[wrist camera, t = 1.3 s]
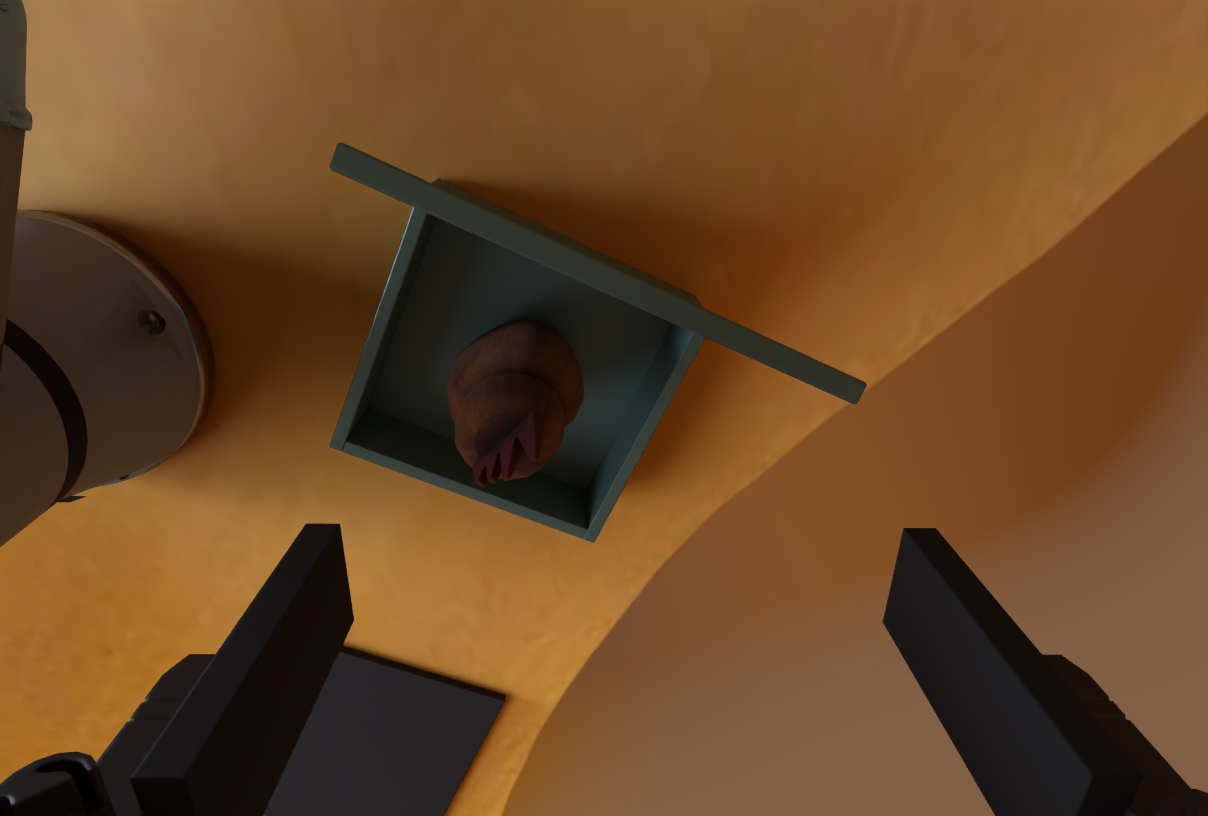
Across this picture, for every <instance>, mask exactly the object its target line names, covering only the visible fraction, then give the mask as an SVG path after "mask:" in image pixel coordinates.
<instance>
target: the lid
mask: <svg viewBox="0 0 1208 816" xmlns="http://www.w3.org/2000/svg"><path fill="white" fill-rule="evenodd" d="M330 169H331V170H332V171H335V172H337V173H339V174H341V175H343V176H346V177H348V178H350V179H352V180H355V181H357V182H359V183H361V184H364V185H366V186H368V187H370V188H372V189H375V190H377V191H379V192H381V193H384V194H386V195H388V196H390V197H393V198H395V199H397V200H399V201H401V202H404V203H406V204H408V205H410V206H413V207H415V208H417V209H419V210H422V211H424V212H426V213H428V214H430V215H433V216H435V217H437V218H439V219H442V220H444V221H446V222H448V223H451V224H453V225H455V226H457V227H459V228H462V229H464V230H466V231H468V232H471V233H473V234H475V235H477V236H480V237H482V238H484V239H486V240H488V241H491V242H493V243H495V244H497V245H500V246H502V247H504V248H506V249H509V250H511V251H513V252H515V253H517V254H520V255H522V256H524V257H526V258H529V259H531V260H533V261H535V262H538V263H540V264H542V265H544V266H546V267H549V268H551V269H553V270H555V271H558V272H560V273H562V274H564V275H567V276H569V277H571V278H573V279H575V280H578V281H580V282H582V283H584V284H587V285H589V286H591V287H593V288H596V289H598V290H600V291H602V292H604V293H607V294H609V295H611V296H613V297H616V298H618V299H620V300H622V301H625V302H627V303H629V304H631V305H633V306H636V307H638V308H640V309H642V310H645V311H647V312H649V313H651V314H654V315H656V316H658V317H660V318H662V319H665V320H667V321H669V322H671V323H674V324H676V325H678V326H680V327H683V328H685V329H687V330H689V331H691V332H694V333H696V334H698V335H700V336H703V337H705V338H707V339H709V340H712V341H714V342H716V343H718V344H720V345H723V346H725V347H727V348H729V349H732V350H734V351H736V352H738V353H741V354H743V355H745V356H747V357H749V358H752V359H754V360H756V361H758V362H761V363H763V364H765V365H767V366H770V367H772V368H774V369H776V370H778V371H781V372H783V373H785V374H787V375H790V376H792V377H794V378H796V379H799V380H801V381H803V382H805V383H807V384H810V385H812V386H814V387H816V388H819V389H821V390H823V391H825V392H828V393H830V394H832V395H834V396H836V397H839V398H841V399H843V400H845V401H848V402H850V403H852V404H857V403H858V401H859V399H860V397H861V395H862V393H863V392H864V390H865V388H866V385H867V384H866V383H865V382H863V381H861V380H859V379H857V378H855V377H852V376H850V375H848V374H846V373H844V372H842V371H839V370H837V369H835V368H833V367H831V366H828V365H826V364H824V363H822V362H820V361H818V360H815V359H813V358H811V357H809V356H807V355H804V354H802V353H800V352H798V351H796V350H794V349H791V348H789V347H787V346H785V345H783V344H780V343H778V342H776V341H774V340H772V339H770V338H767V337H765V336H763V335H761V334H759V333H756V332H754V331H752V330H750V329H748V328H746V327H743V326H741V325H739V324H737V323H735V322H732V321H730V320H728V319H726V318H724V317H722V316H719V315H717V314H715V313H713V312H711V311H708V310H706V309H704V308H702V307H700V306H698V305H695V304H693V303H691V302H689V301H687V300H684V299H682V298H680V297H678V296H676V295H674V294H671V293H669V292H667V291H665V290H663V289H660V288H658V287H656V286H654V285H652V284H650V283H647V282H645V281H643V280H641V279H639V278H636V277H634V276H632V275H630V274H628V273H626V272H623V271H621V270H619V269H617V268H615V267H612V266H610V265H608V264H606V263H604V262H602V261H599V260H597V259H595V258H593V257H591V256H588V255H586V254H584V253H582V252H580V251H578V250H575V249H573V248H571V247H569V246H567V245H564V244H562V243H560V242H558V241H556V240H554V239H551V238H549V237H547V236H545V235H543V234H540V233H538V232H536V231H534V230H532V229H530V228H527V227H525V226H523V225H521V224H519V223H516V222H514V221H512V220H510V219H508V218H506V217H503V216H501V215H499V214H497V213H495V212H492V211H490V210H488V209H486V208H484V207H482V206H479V205H477V204H475V203H473V202H471V201H468V200H466V199H464V198H462V197H460V196H458V195H455V194H453V193H451V192H449V191H447V190H444V189H442V188H440V187H438V186H436V185H434V184H431V183H429V182H427V181H425V180H423V179H420V178H418V177H416V176H414V175H412V174H410V173H407V172H405V171H403V170H401V169H399V168H396V167H394V166H392V165H390V164H388V163H386V162H383V161H381V160H379V159H377V158H375V157H372V156H370V155H368V154H366V153H364V152H362V151H359V150H357V149H355V148H353V147H351V146H348V145H346V144H344V143H340V142H339V143H338V144H337V147H336V149H335V152H334V155H333V158H332V161H331V164H330Z"/></svg>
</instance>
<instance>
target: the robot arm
mask: <svg viewBox="0 0 1208 816" xmlns="http://www.w3.org/2000/svg"><path fill="white" fill-rule="evenodd" d="M26 41H27V22H26V14H25V9H24V6H23V3H22V0H0V547H1V546H2V545H4V544H5V543H6V542H7V541H9V540H10V539H11V538H12V537H14V536H15V535H16V534H17V533H19V532H20V531H21V530H23V529H24V528H25V527H26V526H28V525H29V524H30V523H31V522H33V521H34V520H35V519H36V518H38V517H39V516H40V515H41V514H43V513H44V512H45V511H46V510H48V509H49V508H50V507H52V506H53V505H54V504H55V503H57V502H72V501H75V500H78V499H80V498H83V497H86V496H72V495H75V494H77V493H80V492H83V491H86V490H88V489H91V488H94V487H97V486H104V485H109V484H114V483H117V482H121V481H124V480H127V479H130V478H133V477H135V476H138V475H140V474H143V473H145V472H147V471H149V470H151V469H153V468H155V467H157V466H158V465H160V464H161V463H163V462H164V461H165V460H167V459H168V458H169V457H170V456H172V455H173V454H174V453H175V452H176V451H177V450H178V449H179V448H181V447H182V446H183V445H184V444H185V443H186V442H187V441H188V440H189V439H190V438H191V437H192V436H193V435H194V434H195V432H196V431H197V430H198V428H199V427H200V425H201V424H202V422H203V420H204V418H205V416H206V414H207V412H208V409H209V406H210V403H211V400H212V395H213V390H214V379H215V375H214V361H213V354H212V350H211V345H210V341H209V338H208V336H207V333H206V330H205V327H204V325H203V323H202V321H201V319H200V316H199V315H198V313H197V311H196V309H195V308H194V306H193V304H192V303H191V301H190V300H189V298H188V297H187V295H186V294H185V292H184V291H183V290H182V288H181V287H180V286H179V285H178V284H177V282H176V281H175V280H174V279H173V278H172V277H171V276H170V275H169V274H168V272H167V271H166V270H165V269H164V268H163V267H162V266H160V265H159V264H158V263H157V262H156V261H155V260H154V259H153V258H152V257H150V256H149V255H148V254H146V253H145V252H144V251H142V250H141V249H140V248H138V247H137V246H135V245H134V244H132V243H131V242H129V241H128V240H126V239H125V238H123V237H121V236H119V235H117V234H116V233H114V232H112V231H110V230H108V229H106V228H103V227H101V226H99V225H97V224H94V223H92V222H89V221H86V220H83V219H80V218H77V217H73V216H69V215H65V214H61V213H55V212H49V211H38V210H17V204H18V195H19V185H20V175H21V166H22V156H23V147H24V137H25V130H28V131H30V130H31V128H32V116H31V113H30V112H29V111H28V110H27V109H26V102H25V74H26ZM353 621H354V616H353V610H352V603H351V596H350V589H349V582H348V576H347V569H346V562H345V555H344V549H343V542H342V535H341V528H340V524H306V525H305V526H304V527H303V529H302V530H301V532H300V533H299V535H298V536H297V538H296V539H295V540H294V542H293V543H292V545H291V546H290V548H289V549H288V551H287V552H286V553H285V555H284V556H283V558H282V559H281V561H280V562H279V564H278V565H277V566H276V568H275V569H274V571H273V572H272V574H271V575H270V577H269V578H268V579H267V581H266V582H265V584H264V585H263V587H262V588H261V590H260V591H259V592H258V594H257V595H256V597H255V598H254V600H253V601H252V603H251V604H250V605H249V607H248V608H247V610H246V611H245V613H244V614H243V616H242V617H241V618H240V620H239V621H238V623H237V624H236V626H235V627H234V629H233V630H232V631H231V633H230V634H229V636H228V637H227V639H226V640H225V642H224V643H223V644H222V646H221V647H220V649H219V650H218V652H217V653H216V654H189V655H188V656H187V657H185V658H184V659H183V660H181V661H180V662H179V663H178V664H176V665H175V666H174V667H172V668H171V669H170V670H168V671H167V672H166V673H164V674H163V675H162V677H161V678H160V679H159V681H158V682H157V683H156V684H155V686H154V687H153V688H152V690H151V691H150V692H149V694H148V695H147V696H146V698H145V702H142V703H141V704H140V705H139V707H138V708H137V709H136V711H135V712H134V713H133V715H132V716H131V720H130V722H127V723H126V724H125V725H124V726H123V728H122V729H121V730H120V732H119V733H118V734H117V736H116V737H115V738H114V740H113V741H112V742H111V744H110V745H109V746H108V748H107V749H106V750H105V751H104V753H103V754H102V755H101V757H100V758H99V759H98V761H97V762H95V761H94V759H93V758H92V756H90V755H87V754H83V753H80V752H67V753H57V754H54V755H51V756H48V757H45V758H42V759H39V760H36V761H34V762H33V763H31V764H29V765H27V766H25V767H24V768H22V769H20V770H18V771H16V772H15V773H13V774H12V775H11V776H10V777H8V778H7V779H6V780H5V781H3V782H2V783H1V784H0V816H263V815H264V813H265V810H266V808H267V806H268V804H269V802H270V800H271V798H272V795H273V793H274V791H275V789H276V787H277V785H278V782H279V780H280V778H281V776H282V774H283V772H284V770H285V767H286V765H287V763H288V761H289V759H290V757H291V755H292V752H293V750H294V748H295V746H296V744H297V742H298V739H299V737H300V735H301V733H302V731H303V729H304V727H305V724H306V722H307V720H308V718H309V716H310V714H311V712H312V709H313V707H314V705H315V703H316V701H317V699H318V696H319V694H320V692H321V690H322V688H323V686H324V684H325V681H326V679H327V677H328V675H329V673H330V671H331V669H332V666H333V664H334V662H335V660H336V658H337V656H338V653H339V651H340V649H341V647H342V645H343V643H344V641H345V638H346V636H347V634H348V632H349V630H350V628H351V625H352V623H353ZM883 623H884V625H885V627H886V628H887V630H888V632H889V634H890V635H891V637H892V639H893V640H894V642H895V644H896V646H897V647H898V649H899V651H900V653H901V654H902V656H903V658H904V659H905V661H906V663H907V664H908V666H909V668H910V670H911V671H912V673H913V675H914V677H915V678H916V680H917V682H918V684H919V685H920V687H921V689H922V690H923V692H924V694H925V696H926V697H927V699H928V701H929V702H930V704H931V706H932V707H933V709H934V711H935V713H936V715H937V716H938V718H939V720H940V721H941V723H942V725H943V727H944V728H945V730H946V732H947V733H948V735H949V737H950V739H951V740H952V742H953V744H954V746H955V747H956V749H957V750H958V752H959V754H960V756H961V757H962V759H963V761H964V763H965V764H966V766H967V768H968V770H969V771H970V773H971V775H972V776H973V778H974V780H975V782H976V783H977V785H978V787H979V789H980V790H981V792H982V794H983V795H984V797H985V799H986V800H987V802H988V804H989V806H990V807H991V809H992V811H993V813H994V814H995V816H1208V793H1206V792H1203V791H1200V790H1197V789H1191V788H1190V787H1189V786H1188V785H1187V784H1186V783H1185V781H1184V780H1183V779H1182V778H1181V777H1180V776H1179V775H1178V774H1177V772H1176V771H1175V770H1174V769H1173V768H1172V767H1171V766H1170V765H1169V763H1168V762H1167V761H1166V760H1165V759H1164V758H1163V757H1162V756H1161V755H1160V753H1159V752H1158V751H1157V750H1156V749H1155V748H1154V747H1153V746H1152V744H1151V743H1150V742H1149V741H1148V740H1147V739H1146V738H1145V737H1144V736H1143V734H1142V733H1141V732H1140V731H1139V730H1138V729H1137V728H1136V727H1135V725H1134V724H1133V723H1132V722H1131V721H1130V720H1126V718H1125V714H1124V713H1123V712H1122V711H1121V710H1120V709H1119V708H1118V707H1117V705H1116V704H1114V702H1113V701H1110V700H1109V697H1108V695H1107V694H1106V693H1105V692H1104V691H1103V690H1102V689H1101V688H1100V686H1099V685H1098V684H1097V683H1096V682H1095V681H1094V680H1093V679H1092V677H1090V675H1089V674H1087V673H1086V672H1085V671H1083V670H1082V669H1080V668H1079V667H1078V666H1076V665H1075V664H1073V663H1072V662H1070V661H1069V660H1068V659H1066V658H1065V657H1063V656H1062V655H1042V654H1041V653H1040V652H1039V650H1038V649H1037V648H1036V647H1035V646H1034V644H1033V643H1032V642H1031V641H1030V640H1029V639H1028V637H1027V636H1026V635H1025V634H1024V633H1023V631H1022V630H1021V629H1020V628H1019V627H1018V625H1017V624H1016V623H1015V622H1014V621H1013V619H1012V618H1011V617H1010V616H1009V615H1008V614H1007V612H1006V611H1005V610H1004V609H1003V608H1002V606H1001V605H1000V604H999V603H998V602H997V601H996V599H995V598H994V597H993V596H992V595H991V593H990V592H989V591H988V590H987V589H986V587H985V586H984V585H983V584H982V583H981V582H980V581H979V579H978V578H977V577H976V576H975V574H974V573H973V572H972V571H971V570H970V569H969V567H968V566H967V565H966V564H965V562H964V561H963V560H962V559H961V558H960V557H959V555H958V554H957V553H956V552H955V551H954V549H953V548H952V547H951V546H950V545H949V543H948V542H947V541H946V540H945V539H944V538H943V536H942V535H941V534H940V533H939V532H938V530H937V529H936V528H904V529H903V533H902V538H901V543H900V547H899V552H898V556H897V560H896V565H895V569H894V574H893V579H892V583H891V588H890V592H889V596H888V601H887V605H886V611H885V614H884V619H883Z"/></svg>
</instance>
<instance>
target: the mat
mask: <svg viewBox="0 0 1208 816" xmlns="http://www.w3.org/2000/svg"><path fill="white" fill-rule="evenodd" d="M505 698H506V696H505V695H502V694H499V693H496V692H492V691H489V690H486V689H482V688H479V687H476V686H473V685H469V684H466V683H463V682H459V681H456V680H453V679H449V678H446V677H443V676H439V675H436V674H433V673H429V672H426V671H423V670H420V669H416V668H413V667H410V666H406V665H403V664H400V663H396V662H393V661H390V660H386V659H383V658H380V657H376V656H373V655H370V654H367V653H363V652H360V651H357V650H353V649H350V648H347V647H343V646H342V647H341V649H340V651H339V653H338V656H337V658H336V660H335V662H334V664H333V666H332V669H331V671H330V673H329V675H328V677H327V679H326V681H325V684H324V686H323V688H322V690H321V692H320V694H319V696H318V699H317V701H316V703H315V705H314V707H313V709H312V712H311V714H310V716H309V718H308V720H307V722H306V724H305V727H304V729H303V731H302V733H301V735H300V737H299V739H298V742H297V744H296V746H295V748H294V750H293V752H292V755H291V757H290V759H289V761H288V763H287V765H286V767H285V770H284V772H283V774H282V776H281V778H280V780H279V782H278V785H277V787H276V789H275V791H274V793H273V795H272V798H271V800H270V802H269V804H268V806H267V808H266V810H265V813H264V816H444V814H445V812H446V810H447V808H448V806H449V804H450V803H451V801H452V799H453V797H454V795H455V793H456V791H457V790H458V788H459V786H460V784H461V782H462V780H463V779H464V777H465V775H466V773H467V771H468V769H469V767H470V766H471V764H472V762H473V760H474V758H475V756H476V754H477V753H478V751H479V749H480V747H481V745H482V743H483V742H484V740H485V738H486V736H487V734H488V732H489V730H490V729H491V727H492V725H493V723H494V721H495V719H496V717H497V716H498V714H499V712H500V710H501V708H502V706H503V704H504V703H505Z"/></svg>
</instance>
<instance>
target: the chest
mask: <svg viewBox="0 0 1208 816" xmlns="http://www.w3.org/2000/svg"><path fill="white" fill-rule="evenodd" d="M431 184H434V185H436V186H438V187H440V188H442V189H444V190H447V191H449V192H451V193H453V194H455V195H458V196H460V197H462V198H464V199H466V200H468V201H471V202H473V203H475V204H477V205H479V206H482V207H484V208H486V209H488V210H490V211H492V212H495V213H497V214H499V215H501V216H503V217H506V218H508V219H510V220H512V221H514V222H516V223H519V224H521V225H523V226H525V227H527V228H530V229H532V230H534V231H536V232H538V233H540V234H543V235H545V236H547V237H549V238H551V239H554V240H556V241H558V242H560V243H562V244H564V245H567V246H569V247H571V248H573V249H575V250H578V251H580V252H582V253H584V254H586V255H588V256H591V257H593V258H595V259H597V260H599V261H602V262H604V263H606V264H608V265H610V266H612V267H615V268H617V269H619V270H621V271H623V272H626V273H628V274H630V275H632V276H634V277H636V278H639V279H641V280H643V281H645V282H647V283H650V284H652V285H654V286H656V287H658V288H660V289H663V290H665V291H667V292H669V293H671V294H674V295H676V296H678V297H680V298H682V299H684V300H687V301H689V302H691V303H693V304H695V305H698V306H700V307H702V308H703V306H702V305H701V304H700V302H699V301H698V299H697V298H696V296H694V295H692V294H690V293H688V292H685V291H683V290H681V289H679V288H677V287H674V286H672V285H670V284H668V283H666V282H664V281H661V280H659V279H657V278H655V277H653V276H651V275H648V274H646V273H644V272H642V271H640V270H638V269H635V268H633V267H631V266H629V265H627V264H625V263H622V262H620V261H618V260H616V259H614V258H612V257H609V256H607V255H605V254H603V253H601V252H599V251H596V250H594V249H592V248H590V247H588V246H586V245H583V244H581V243H579V242H577V241H575V240H573V239H570V238H568V237H566V236H564V235H562V234H560V233H557V232H555V231H553V230H551V229H549V228H547V227H544V226H542V225H540V224H538V223H536V222H534V221H531V220H529V219H527V218H525V217H523V216H521V215H518V214H516V213H514V212H512V211H510V210H508V209H505V208H503V207H501V206H499V205H497V204H495V203H492V202H490V201H488V200H486V199H484V198H482V197H479V196H477V195H475V194H473V193H471V192H469V191H466V190H464V189H462V188H460V187H458V186H456V185H453V184H451V183H449V182H447V181H445V180H442V179H440V178H438V179H437V180H435V181H433V182H432V183H431ZM526 319H537V320H539V321H541V322H544V323H546V324H549V325H551V326H554V327H556V329H557V330H558V331H559V332H560V333H561V334H562V335H563V336H564V338H565V339H566V340H567V341H568V342H569V343H570V345H571V347H572V349H573V351H574V353H575V355H576V358H577V360H578V362H579V365H580V368H581V372H582V379H583V386H584V399H583V402H582V404H581V406H580V409H579V411H578V413H577V415H576V417H575V419H574V420H573V421H572V422H571V423H569V424H568V425H567V426H565V427H564V437H563V440H562V442H561V444H560V446H559V448H558V450H557V452H556V454H555V455H554V456H553V457H552V458H551V459H550V460H549V461H548V462H547V463H546V464H545V465H544V466H543V467H542V468H541V469H540V470H538V471H537V472H535V473H533V474H532V475H530V476H528V477H523V478H517V479H509V480H508V481H505V480H504V479H498V480H497V481H496V482H495V483H494V484H492V483H491V482H490V481H488V482H487V483H486V484H485V486H484V487H481V486H479V485H478V484H477V483H476V482H475V479H474V471H473V468H472V467H471V466H470V465H468V464H467V463H466V462H465V460H464V458H463V457H462V455H461V454H460V452H459V450H458V449H457V447H456V444H455V422H454V420H453V419H452V417H451V415H450V410H449V400H448V389H447V386H448V383H449V379H450V376H451V373H452V370H453V367H454V365H455V362H456V359H457V357H458V355H459V353H460V352H461V351H462V350H463V349H464V348H466V347H467V346H468V345H469V344H470V343H472V342H473V341H474V340H475V339H476V338H477V337H479V336H480V335H481V334H483V333H485V332H487V331H489V330H491V329H493V328H495V327H497V326H499V325H501V324H505V323H508V322H511V321H515V320H526ZM704 339H705V337H703V336H700V335H698V334H696V333H694V332H691V331H689V330H687V329H685V328H683V327H680V326H678V325H676V324H674V323H671V322H669V321H667V320H665V319H662V318H660V317H658V316H656V315H654V314H651V313H649V312H647V311H645V310H642V309H640V308H638V307H636V306H633V305H631V304H629V303H627V302H625V301H622V300H620V299H618V298H616V297H613V296H611V295H609V294H607V293H604V292H602V291H600V290H598V289H596V288H593V287H591V286H589V285H587V284H584V283H582V282H580V281H578V280H575V279H573V278H571V277H569V276H567V275H564V274H562V273H560V272H558V271H555V270H553V269H551V268H549V267H546V266H544V265H542V264H540V263H538V262H535V261H533V260H531V259H529V258H526V257H524V256H522V255H520V254H517V253H515V252H513V251H511V250H509V249H506V248H504V247H502V246H500V245H497V244H495V243H493V242H491V241H488V240H486V239H484V238H482V237H480V236H477V235H475V234H473V233H471V232H468V231H466V230H464V229H462V228H459V227H457V226H455V225H453V224H451V223H448V222H446V221H444V220H442V219H439V218H437V217H435V216H433V215H430V214H428V213H426V212H424V211H422V210H419V209H417V208H415V207H413V210H412V212H411V215H410V218H409V221H408V224H407V227H406V230H405V232H404V235H403V238H402V241H401V244H400V247H399V249H398V252H397V255H396V258H395V261H394V264H393V267H392V269H391V272H390V275H389V278H388V281H387V284H386V287H385V289H384V292H383V295H382V298H381V301H380V304H379V307H378V309H377V312H376V315H375V318H374V321H373V324H372V326H371V329H370V332H369V335H368V338H367V341H366V344H365V346H364V349H363V352H362V355H361V358H360V361H359V364H358V366H357V369H356V372H355V375H354V378H353V381H352V383H351V386H350V389H349V392H348V395H347V398H346V401H345V403H344V406H343V409H342V412H341V415H340V418H339V421H338V423H337V426H336V429H335V432H334V435H333V438H332V440H331V443H330V447H331V448H334V449H337V450H340V451H342V450H343V452H345V453H347V454H350V455H353V456H356V457H358V458H361V459H364V460H367V461H369V462H372V463H375V464H378V465H380V466H383V467H386V468H389V469H392V470H394V471H397V472H400V473H403V474H405V475H408V476H411V477H414V478H416V479H419V480H422V481H425V482H427V483H430V484H433V485H436V486H438V487H441V488H444V489H447V490H449V491H452V492H455V493H458V494H461V495H463V496H466V497H469V498H472V499H474V500H477V501H480V502H483V503H485V504H488V505H491V506H494V507H496V508H499V509H502V510H505V511H507V512H510V513H513V514H516V515H519V516H521V517H524V518H527V519H530V520H532V521H535V522H538V523H541V524H543V525H546V526H549V527H552V528H554V529H557V530H560V531H563V532H565V533H568V534H571V535H574V536H576V537H579V538H582V539H585V540H587V541H590V542H593V543H594V542H595V540H596V538H597V536H598V535H599V533H600V531H601V529H602V527H603V525H604V523H605V522H606V520H607V518H608V516H609V514H610V512H611V511H612V509H613V507H614V505H615V503H616V501H617V499H618V498H619V496H620V494H621V492H622V490H623V488H624V487H625V485H626V483H627V481H628V479H629V477H630V475H631V474H632V472H633V470H634V468H635V466H636V464H637V463H638V461H639V459H640V457H641V455H642V453H643V452H644V450H645V448H646V446H647V444H648V442H649V440H650V439H651V437H652V435H653V433H654V431H655V429H656V428H657V426H658V424H659V422H660V420H661V418H662V416H663V415H664V413H665V411H666V409H667V407H668V405H669V404H670V402H671V400H672V398H673V396H674V394H675V392H676V391H677V389H678V387H679V385H680V383H681V381H682V380H683V378H684V376H685V374H686V372H687V370H688V369H689V367H690V365H691V363H692V361H693V359H694V357H695V356H696V354H697V352H698V350H699V348H700V346H701V345H702V343H703V341H704Z"/></svg>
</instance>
